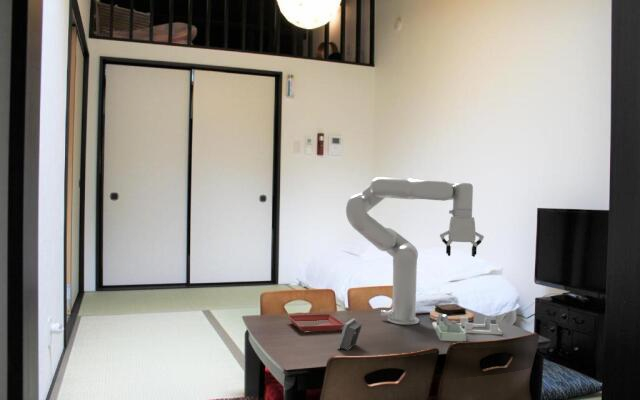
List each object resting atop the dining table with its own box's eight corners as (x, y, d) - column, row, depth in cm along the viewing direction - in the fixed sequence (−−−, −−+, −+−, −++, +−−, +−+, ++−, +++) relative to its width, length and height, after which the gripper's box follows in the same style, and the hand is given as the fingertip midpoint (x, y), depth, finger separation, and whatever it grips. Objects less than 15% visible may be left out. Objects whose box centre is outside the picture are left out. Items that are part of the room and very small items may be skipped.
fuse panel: (435, 331, 207) (436, 321, 207) (432, 324, 218) (432, 315, 218) (502, 334, 204) (502, 325, 204) (495, 327, 216) (495, 318, 216)
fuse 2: (490, 332, 207) (490, 319, 207) (486, 328, 214) (486, 315, 214) (495, 332, 207) (495, 319, 207) (491, 328, 214) (491, 316, 213)
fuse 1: (440, 330, 209) (440, 317, 209) (438, 325, 215) (438, 313, 215) (445, 330, 209) (445, 317, 209) (443, 326, 215) (443, 313, 215)
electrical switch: (346, 342, 187) (349, 316, 187) (360, 346, 186) (363, 320, 185) (336, 349, 179) (339, 322, 178) (351, 353, 177) (354, 326, 176)
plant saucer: (329, 321, 220) (329, 313, 220) (345, 332, 203) (345, 323, 203) (287, 323, 214) (287, 315, 214) (299, 335, 197) (299, 326, 197)
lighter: (455, 334, 201) (456, 312, 201) (458, 335, 200) (459, 313, 200) (440, 335, 198) (441, 314, 198) (443, 336, 197) (444, 315, 197)
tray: (440, 340, 194) (440, 332, 194) (436, 332, 205) (436, 324, 205) (466, 341, 193) (466, 333, 193) (460, 333, 204) (460, 326, 204)
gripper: (441, 213, 213) (440, 256, 213) (486, 214, 211) (485, 257, 211) (439, 212, 220) (438, 254, 220) (482, 213, 219) (481, 255, 219)
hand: (461, 256), depth 216 cm, fingers open, 9 cm apart
